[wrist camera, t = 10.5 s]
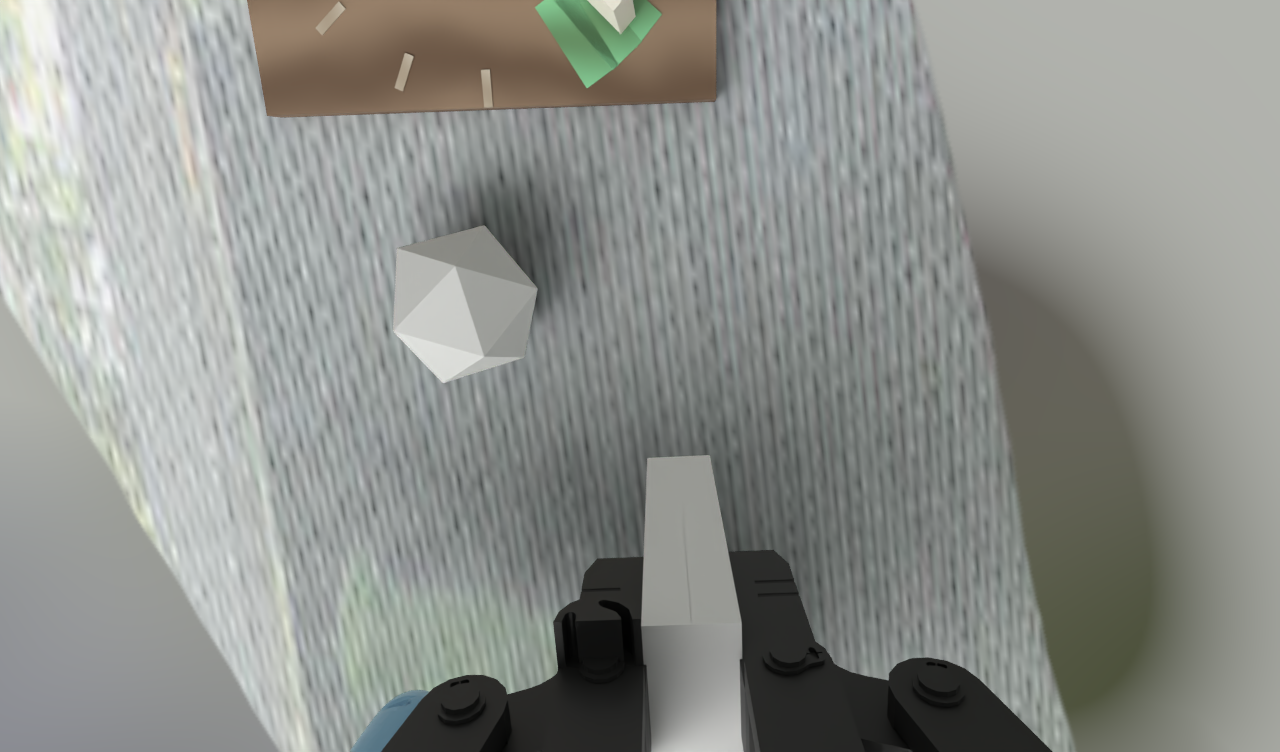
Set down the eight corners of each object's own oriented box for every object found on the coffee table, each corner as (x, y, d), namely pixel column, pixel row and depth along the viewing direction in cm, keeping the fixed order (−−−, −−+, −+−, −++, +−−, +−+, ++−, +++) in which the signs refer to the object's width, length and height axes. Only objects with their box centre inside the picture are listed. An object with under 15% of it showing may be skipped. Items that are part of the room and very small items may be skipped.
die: (485, 194, 44) (345, 226, 37) (584, 260, 40) (451, 309, 34) (471, 301, 49) (346, 348, 42) (559, 368, 45) (438, 430, 39)
